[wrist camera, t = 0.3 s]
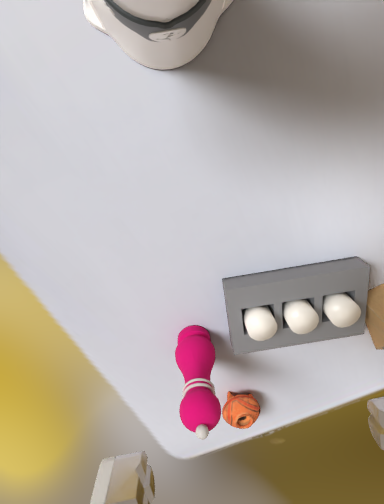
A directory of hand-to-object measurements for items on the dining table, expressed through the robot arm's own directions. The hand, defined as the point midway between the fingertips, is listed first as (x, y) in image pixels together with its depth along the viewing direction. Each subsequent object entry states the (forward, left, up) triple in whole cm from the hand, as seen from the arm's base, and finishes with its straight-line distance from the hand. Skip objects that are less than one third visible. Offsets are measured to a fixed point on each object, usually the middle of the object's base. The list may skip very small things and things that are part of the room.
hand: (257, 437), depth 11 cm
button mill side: (+23, +8, -37) cm, 44 cm away
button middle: (+23, +15, -37) cm, 46 cm away
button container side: (+23, +22, -37) cm, 48 cm away
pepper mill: (+28, -4, -39) cm, 48 cm away
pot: (+46, +3, -40) cm, 60 cm away
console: (+23, +15, -39) cm, 48 cm away
